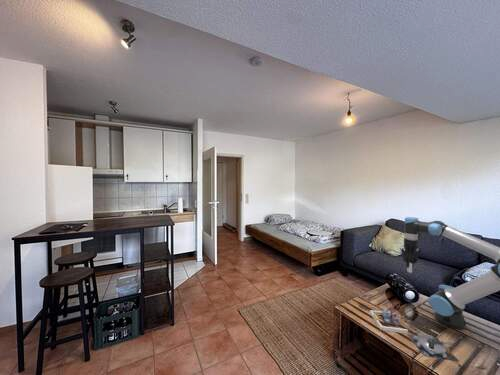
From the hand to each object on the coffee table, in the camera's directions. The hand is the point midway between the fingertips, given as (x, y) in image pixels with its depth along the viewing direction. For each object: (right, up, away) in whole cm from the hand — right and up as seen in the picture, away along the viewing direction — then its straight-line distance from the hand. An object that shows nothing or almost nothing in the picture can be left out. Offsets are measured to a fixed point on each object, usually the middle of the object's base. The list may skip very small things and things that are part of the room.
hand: (409, 271), depth 144 cm
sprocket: (-12, -29, -31) cm, 44 cm away
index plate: (-12, -30, -31) cm, 44 cm away
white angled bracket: (-23, -29, -12) cm, 39 cm away
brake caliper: (-21, -29, -10) cm, 37 cm away
